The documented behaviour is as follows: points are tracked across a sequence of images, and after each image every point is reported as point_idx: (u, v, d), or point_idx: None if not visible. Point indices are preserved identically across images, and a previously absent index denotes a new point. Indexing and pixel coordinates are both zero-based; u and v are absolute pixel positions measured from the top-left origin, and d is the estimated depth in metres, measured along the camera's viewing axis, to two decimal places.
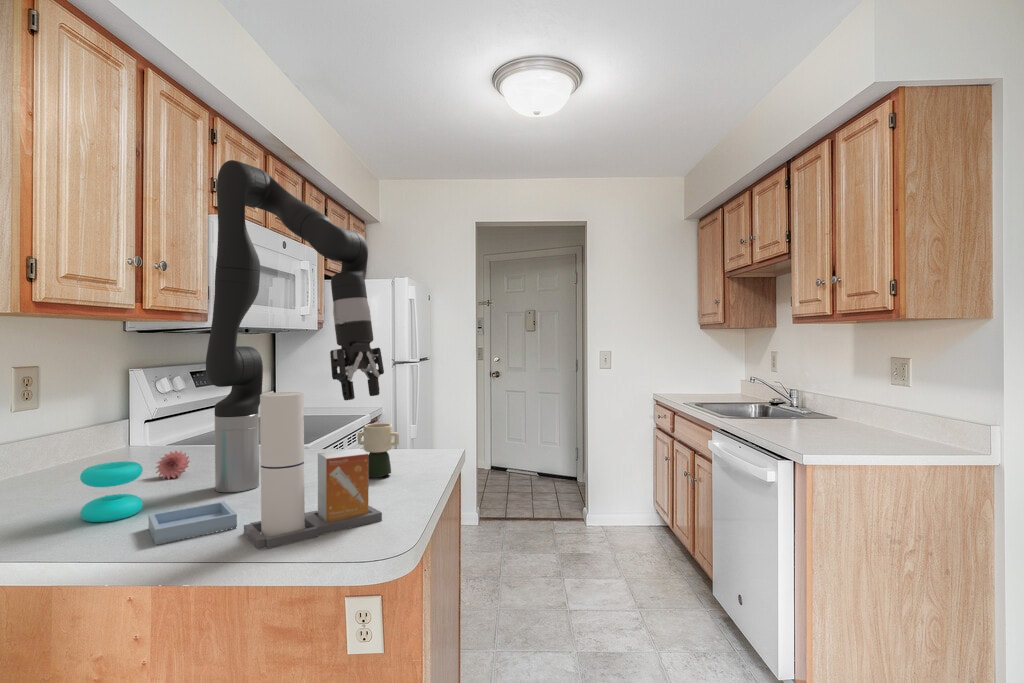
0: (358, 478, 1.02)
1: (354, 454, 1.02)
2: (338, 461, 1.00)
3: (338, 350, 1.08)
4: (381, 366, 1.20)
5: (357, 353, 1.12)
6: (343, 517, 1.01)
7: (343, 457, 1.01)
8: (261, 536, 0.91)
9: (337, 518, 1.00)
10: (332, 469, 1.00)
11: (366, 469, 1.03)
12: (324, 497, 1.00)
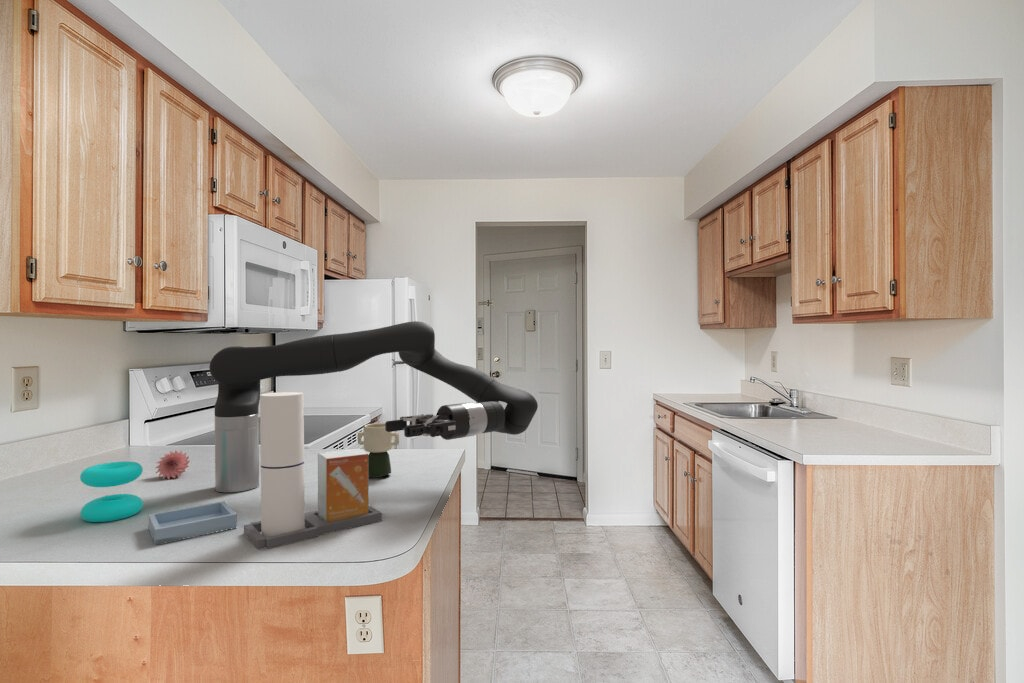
0: (358, 478, 1.02)
1: (354, 454, 1.02)
2: (338, 461, 1.00)
3: (455, 431, 1.11)
4: None
5: (439, 432, 1.15)
6: (343, 517, 1.01)
7: (343, 457, 1.01)
8: (261, 536, 0.91)
9: (337, 518, 1.00)
10: (332, 469, 1.00)
11: (366, 469, 1.03)
12: (324, 497, 1.00)
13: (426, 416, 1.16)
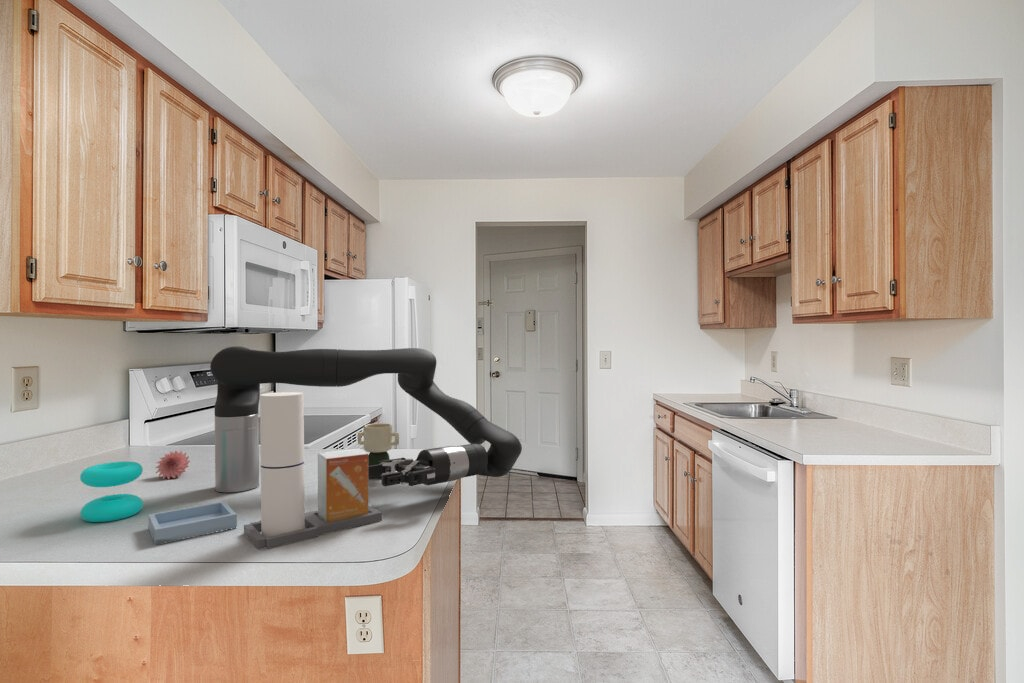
0: (358, 478, 1.02)
1: (354, 454, 1.02)
2: (338, 461, 1.00)
3: (434, 479, 1.09)
4: None
5: None
6: (343, 517, 1.01)
7: (343, 457, 1.01)
8: (261, 536, 0.91)
9: (337, 518, 1.00)
10: (332, 469, 1.00)
11: (366, 469, 1.03)
12: (324, 497, 1.00)
13: (406, 461, 1.14)
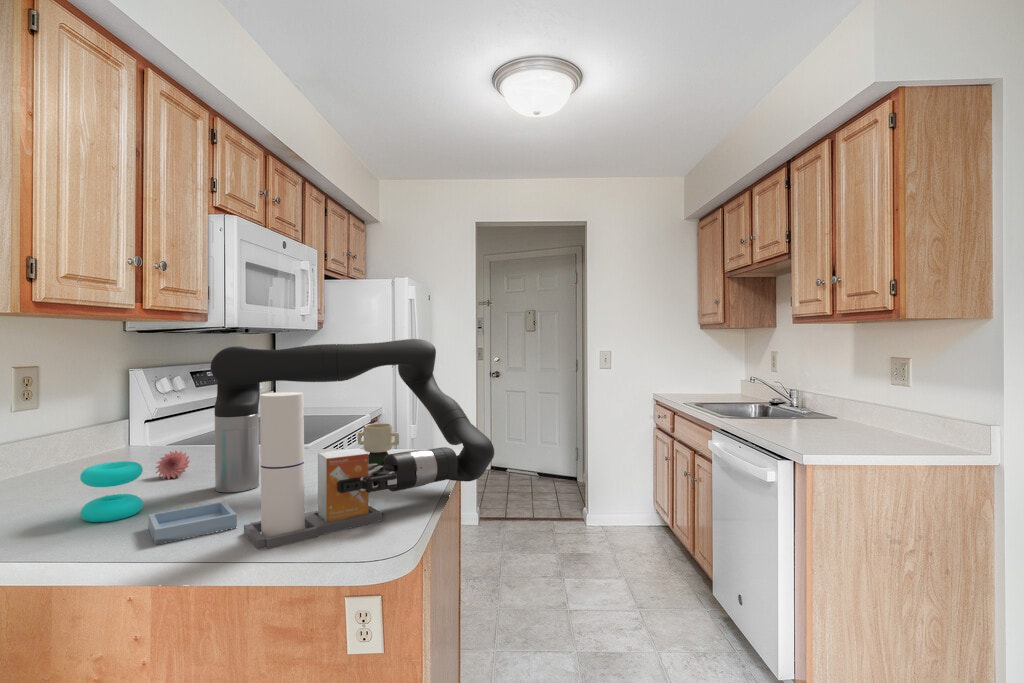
0: (358, 478, 1.02)
1: (354, 454, 1.03)
2: (338, 460, 1.00)
3: (395, 486, 1.03)
4: None
5: None
6: (343, 517, 1.01)
7: (343, 457, 1.01)
8: (261, 536, 0.91)
9: (337, 518, 1.00)
10: (332, 468, 1.00)
11: (366, 469, 1.03)
12: (324, 497, 1.00)
13: (370, 466, 1.08)
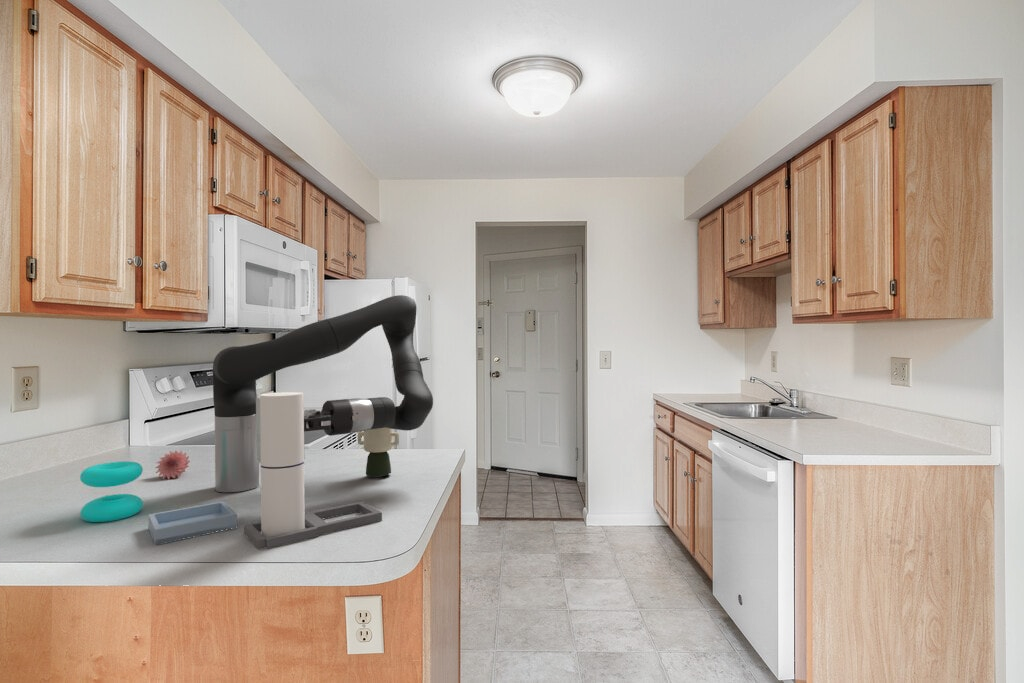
0: None
1: None
2: None
3: (329, 427, 1.09)
4: None
5: None
6: None
7: None
8: (261, 536, 0.91)
9: None
10: None
11: None
12: None
13: (308, 411, 1.15)
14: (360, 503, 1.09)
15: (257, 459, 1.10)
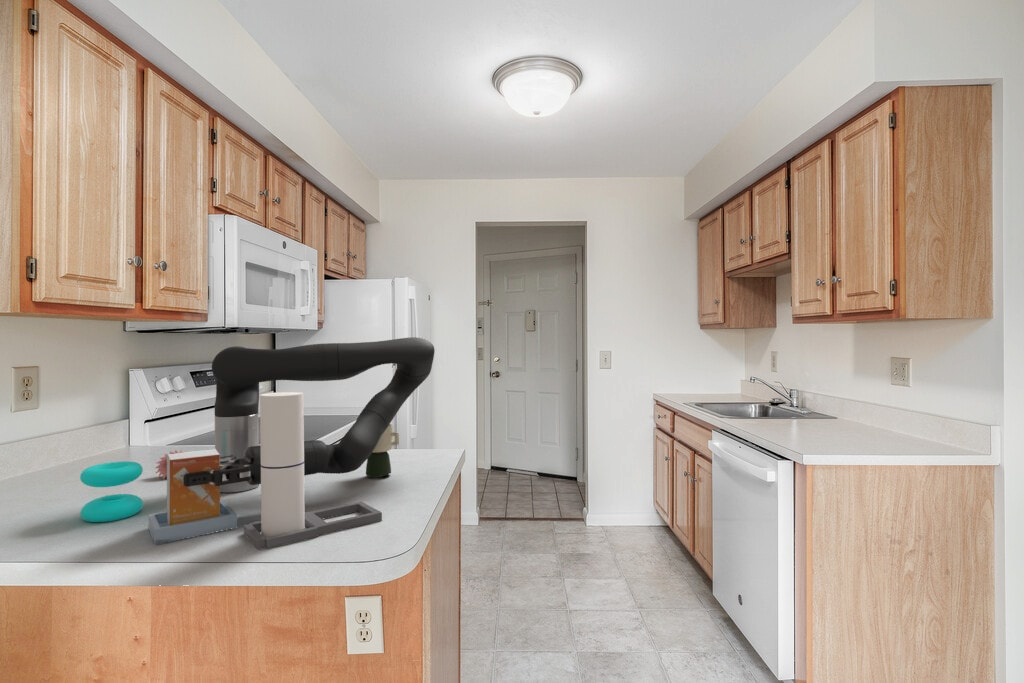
0: None
1: (204, 455, 0.99)
2: (183, 462, 0.96)
3: (249, 478, 1.00)
4: None
5: None
6: (190, 520, 0.97)
7: (190, 458, 0.97)
8: (261, 536, 0.91)
9: (182, 521, 0.96)
10: (177, 470, 0.96)
11: None
12: (168, 500, 0.96)
13: (226, 459, 1.05)
14: (360, 503, 1.09)
15: (167, 523, 1.00)
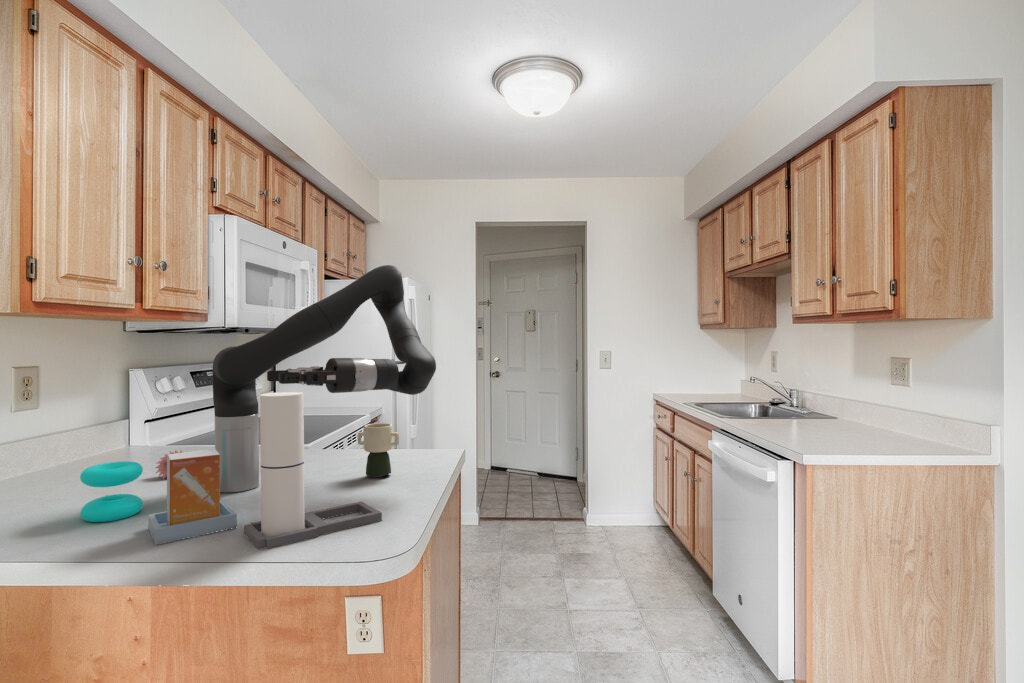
0: (207, 480, 0.99)
1: (204, 455, 0.99)
2: (183, 462, 0.96)
3: (334, 381, 1.10)
4: None
5: (322, 383, 1.13)
6: (190, 520, 0.97)
7: (190, 458, 0.97)
8: (261, 536, 0.91)
9: (182, 521, 0.96)
10: (177, 470, 0.96)
11: (217, 470, 1.00)
12: (168, 500, 0.96)
13: (311, 368, 1.15)
14: (360, 503, 1.09)
15: (167, 523, 1.00)
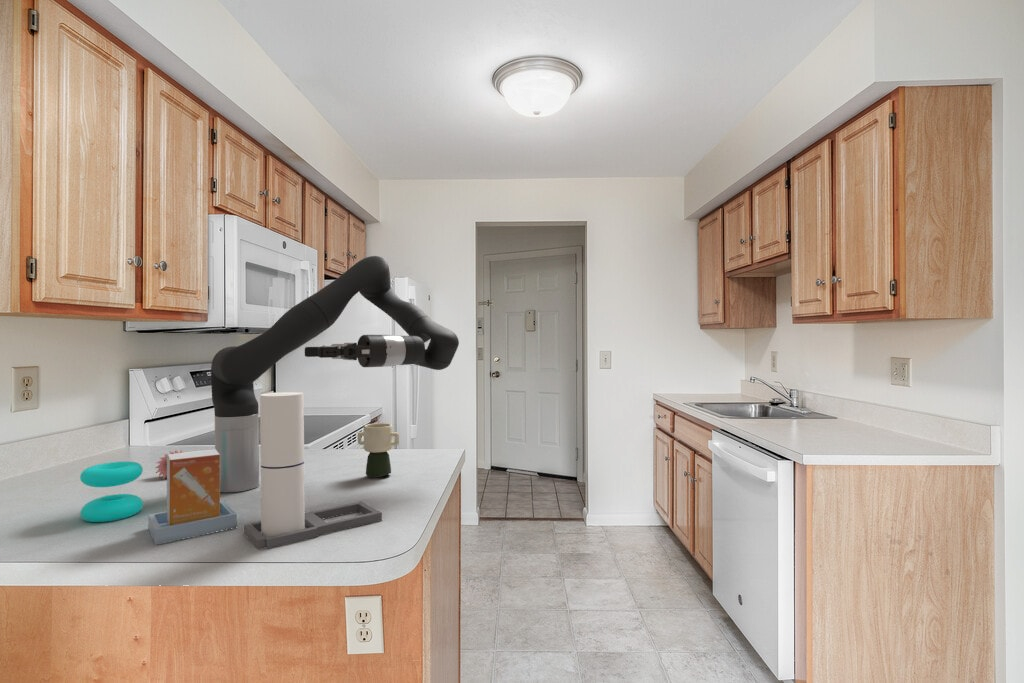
0: (207, 480, 0.99)
1: (204, 455, 0.99)
2: (183, 462, 0.96)
3: (369, 355, 1.18)
4: None
5: (356, 358, 1.21)
6: (190, 520, 0.97)
7: (190, 458, 0.97)
8: (261, 536, 0.91)
9: (182, 521, 0.96)
10: (177, 470, 0.96)
11: (217, 470, 1.00)
12: (168, 500, 0.96)
13: (345, 344, 1.23)
14: (360, 503, 1.09)
15: (167, 523, 1.00)
